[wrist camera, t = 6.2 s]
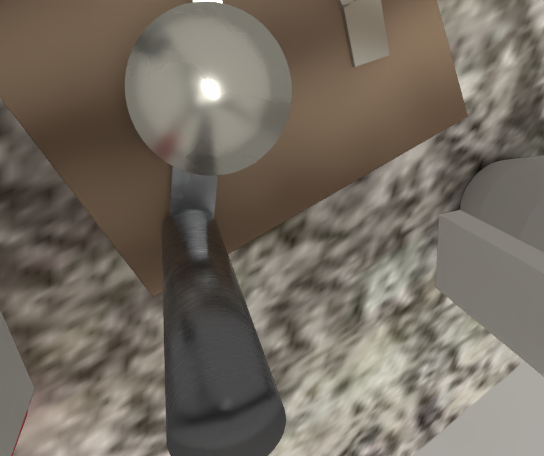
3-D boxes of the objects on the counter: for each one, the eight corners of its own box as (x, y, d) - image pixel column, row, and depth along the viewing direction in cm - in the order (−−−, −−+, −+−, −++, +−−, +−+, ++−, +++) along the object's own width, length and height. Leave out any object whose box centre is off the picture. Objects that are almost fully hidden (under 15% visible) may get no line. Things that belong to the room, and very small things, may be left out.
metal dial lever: (128, 254, 18) (94, 491, 8) (137, -208, 13) (77, -1062, 3) (243, 256, 20) (332, 462, 10) (291, -162, 15) (593, -658, 5)
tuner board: (-76, -37, 16) (-121, -55, 13) (327, -251, 16) (359, -308, 14) (153, 272, 22) (152, 300, 20) (436, 110, 23) (472, 117, 20)
